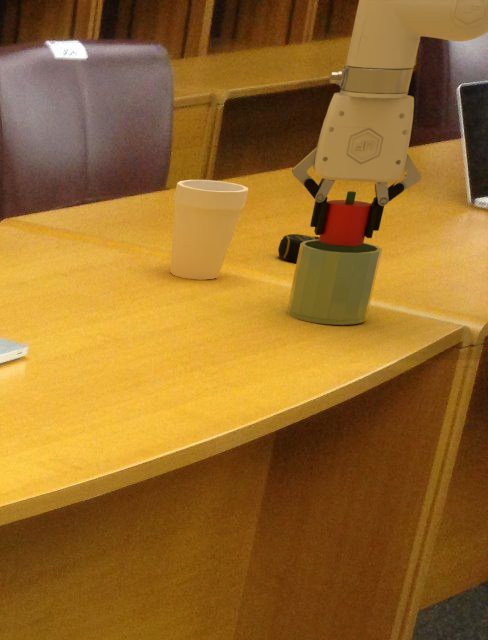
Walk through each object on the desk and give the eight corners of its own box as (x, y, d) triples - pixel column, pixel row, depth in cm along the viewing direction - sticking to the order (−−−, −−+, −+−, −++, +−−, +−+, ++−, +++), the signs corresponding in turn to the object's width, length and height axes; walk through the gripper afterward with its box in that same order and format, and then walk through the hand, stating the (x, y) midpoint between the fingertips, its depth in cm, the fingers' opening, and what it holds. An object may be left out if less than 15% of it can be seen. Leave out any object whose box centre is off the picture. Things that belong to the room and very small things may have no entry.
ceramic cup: (381, 323, 196) (397, 251, 192) (315, 326, 194) (330, 254, 190) (336, 306, 204) (351, 238, 200) (272, 309, 203) (286, 240, 199)
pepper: (371, 245, 195) (383, 193, 192) (345, 248, 192) (357, 196, 189) (335, 238, 199) (346, 187, 196) (309, 242, 196) (320, 190, 193)
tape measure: (330, 269, 227) (336, 243, 225) (282, 266, 228) (288, 241, 226) (317, 259, 233) (323, 234, 231) (270, 256, 234) (276, 231, 232)
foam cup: (145, 273, 222) (163, 181, 216) (196, 269, 225) (215, 178, 219) (189, 288, 214) (209, 193, 208) (241, 284, 217) (263, 190, 211)
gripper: (302, 83, 186) (272, 235, 194) (457, 88, 181) (420, 244, 189) (298, 78, 192) (269, 225, 201) (448, 82, 187) (412, 234, 195)
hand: (342, 233), depth 195 cm, fingers closed on pepper, 5 cm apart
